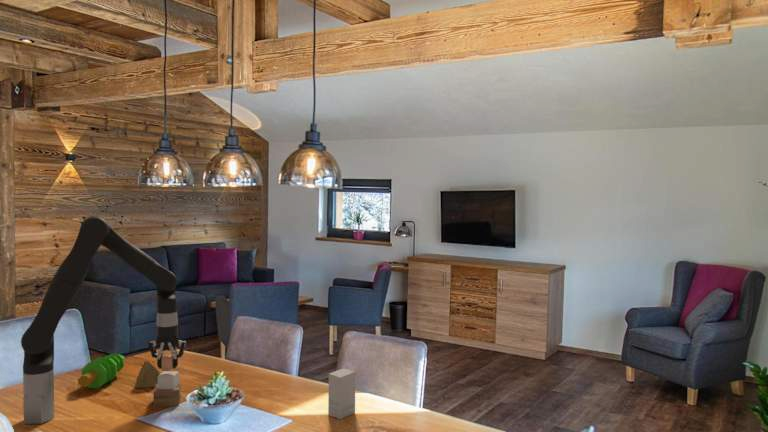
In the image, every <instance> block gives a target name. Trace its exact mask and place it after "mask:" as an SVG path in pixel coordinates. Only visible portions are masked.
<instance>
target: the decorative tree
mask: <svg viewBox="0 0 768 432" xmlns="http://www.w3.org/2000/svg"><path fill="white" fill-rule="evenodd" d="M124 366H125V356H124V355H122V354H119V353H110V354H108V355H105V356H104V357H98V358H96V359H93V360H92V361H91V362H88V363H87V364H86V365H84V366H83V368H82V369H81V376H80V377H79V378H77V384H78V385H79V386H80V387H83V388H87V387H88V388H89V389H100V388H101V387H102V386H103V385H106V384H107V383H111V381H113V379H114V378H115V377H117V375H118V373H120V371H121V370H122V369H124Z"/></svg>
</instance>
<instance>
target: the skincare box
mask: <svg viewBox="0 0 768 432" xmlns="http://www.w3.org/2000/svg"><path fill="white" fill-rule="evenodd" d="M327 403H328V411H327V413H328V416H329V417H330V416H331V417H333V418H335V417H336V419H339V420H342V419H344V418H346V417H348V416H351V415H353V414H355V413H356V371H355V370H350V369H347V368H344V367H343V368H340V369H338V370H335V371H332V372H330V373H328V402H327Z"/></svg>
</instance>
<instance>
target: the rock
mask: <svg viewBox="0 0 768 432" xmlns="http://www.w3.org/2000/svg"><path fill="white" fill-rule="evenodd" d="M161 373H162V372H160V370H159V369H158V367H156V366H154V365H153V364H152V363H151V362H150V361H144V362H143V364H142V367H141V368H140V370H139V372H138V375H137V377H136V379H135V380H136V381H135V384H134V389H137V388H139V389H146V388H147V389H148V388H155V386H156V384H158V375H160V374H161Z"/></svg>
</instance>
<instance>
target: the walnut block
mask: <svg viewBox="0 0 768 432" xmlns="http://www.w3.org/2000/svg"><path fill="white" fill-rule="evenodd" d="M181 386H182V385H181V381H179V385H178V386H177V387H176V388H175V389H158V384H156V386H155V387H154V389H153V393H152V394H153V408H159V407H162V408H163V407H174V406H175V407H176V406H180V401H181V397H182V396H181V395H182V393H181V392H182V389H181V388H182V387H181Z"/></svg>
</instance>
